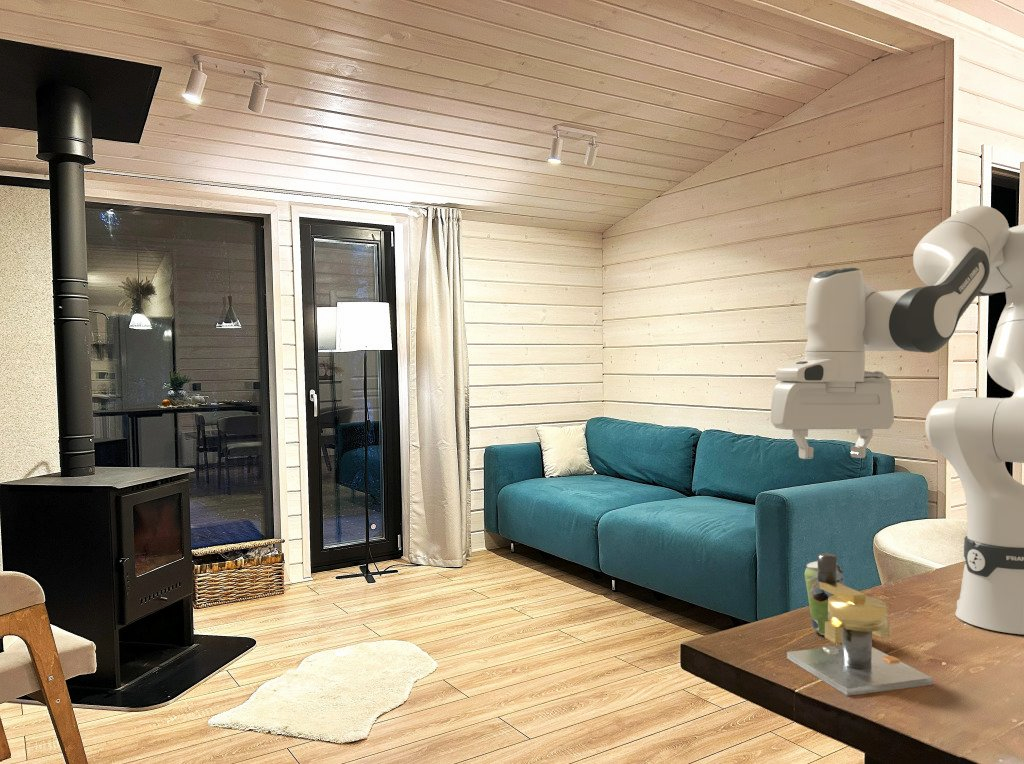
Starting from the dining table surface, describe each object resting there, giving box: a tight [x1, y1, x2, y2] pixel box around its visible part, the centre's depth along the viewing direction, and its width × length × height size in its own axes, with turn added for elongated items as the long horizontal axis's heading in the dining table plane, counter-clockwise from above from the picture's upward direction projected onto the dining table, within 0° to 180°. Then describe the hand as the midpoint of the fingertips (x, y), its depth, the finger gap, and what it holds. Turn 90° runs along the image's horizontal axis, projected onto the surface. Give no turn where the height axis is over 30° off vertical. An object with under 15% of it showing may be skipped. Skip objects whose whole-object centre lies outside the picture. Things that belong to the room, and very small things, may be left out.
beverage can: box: [804, 560, 846, 636], centre depth 133 cm, size 6×7×12 cm
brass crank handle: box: [817, 552, 890, 644], centre depth 119 cm, size 9×12×10 cm
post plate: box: [786, 628, 933, 697], centre depth 117 cm, size 14×14×7 cm
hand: (832, 457), depth 126 cm, fingers open, 8 cm apart
